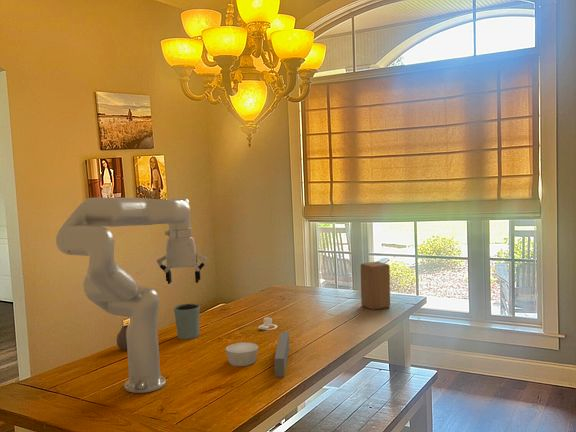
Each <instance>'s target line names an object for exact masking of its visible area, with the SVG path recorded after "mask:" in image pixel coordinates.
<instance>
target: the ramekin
mask: <svg viewBox="0 0 576 432" xmlns="http://www.w3.org/2000/svg"><path fill="white" fill-rule="evenodd" d="M258 351H259V346H258V344H256V343H254V342H244V341H243V342H237V343H232V344H229V345H228V346H226V348H225V354H226V356H227V361H228V363H229V364H230V365H231V366H234V367H246V366H247V367H248V366H251V365H253V364H255V363H256V361H257V358H258Z"/></svg>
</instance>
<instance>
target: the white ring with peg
mask: <svg viewBox="0 0 576 432" xmlns="http://www.w3.org/2000/svg"><path fill="white" fill-rule="evenodd" d="M272 326H274V327H273V328H271V327H272ZM277 328H278V325H277V324H273V319H272V318H271V317H269V316H267V317H264V318H263V324H261V325H259V326H258V329H259V330H261V331H262V330H263V331H271V330H275V329H277Z"/></svg>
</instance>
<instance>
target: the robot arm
mask: <svg viewBox="0 0 576 432" xmlns="http://www.w3.org/2000/svg"><path fill="white" fill-rule="evenodd" d="M191 210H192V209H191V205H190V200H189V198H186V197H175V198H173V197H172V198H170V199H156V198H146V197H89V198H86V199H85V200H83V201H82V202H81V203H80V204H79V205H78V206H77V207H76V208H75V210H74V211H73V212H72V213H71V214H70V215H69V217H67V219H66V220H65V221H64V222H63V224H62V225H61V227H60V228H59V230H58V231H57V233H56V238H55V245H56V247H57V249H58V251H60V252H61V253H62V254H64V255H69V256H82V257H83V256H84V257H85V256H86V257H89V260H88V267H87V271H86V272H87V273H86V276H84V280H83V284H82V286H83V292H84V295H85V296H86V298H87V299H88V300H90V301H91V302H92V303H93V304H95V305H96V306H97V307H99V308H100V309H102V310H103V311H105V312H106V313H108V314H110V315H114V316H120V317H128V318H131V320H130V322H129V324H128V325H127V326H128V327H127V331H126V339H127V364H128V378H129V379H128V380H126V382H124V390H125V391H127V392H128V393H129V392H130V393H135V394H144V393H151V392H154V391H157V390H160V389H162V388H164V386H165V385H166V383H167V382H166V379H167V378H165V377H164V376H163V375H161V365H160V351H159V350H160V348H159V333H158V332H159V331H158V316H159V308H160V297H159V294H158V292H157V291H156V290H155V289H153V288H151V287H147V286H141V285H138V284H137V282H136V279H135V278H134V277H133V276H132V275H131V274H130V273H129V272H128V271H126V270H125V269H124V268H123V267H121V266H120V265H119V264H118V263H117V262H116V261H115V258H114V257H115V256H114V255H115V238H114V236H113V235H114V234H113V233H112V231H111V230H110V229H108V227H109V228H110V227H113V228H114V227H115V228H117V227H131V226H132V227H133V226H138V227H139V226H153V225H163V224H164V225H165V224H168V230H165V231H164V235H165V236H168V238H166V248H165V249H166V250H165V254H164V256H162V257H160V258H157V260H156V262H157V264H158V266H159V268H160V269H161V270H163V272H164V273H165V281H166V282H167V284H168V285H170V284H171V283H172V281H173V280H172V279H173V278H172V271H171V269H174V268H175V269H177V268H193V269H194V270H195V271H194V277H195V278H194V280H195V283H196V284H198V283H199V282H200V280H201V269H203V267H204V266H205V265H206V263H207V261H208V257H207V256H204V255H202V254H199V253H198V252H197V247H196V242H195V238H194V236H192V223H191ZM198 259H199V260H201V263H200V264H198ZM164 261H165V262H166V263H165V264H166V265H165V264H164Z"/></svg>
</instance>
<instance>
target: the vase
mask: <svg viewBox="0 0 576 432" xmlns="http://www.w3.org/2000/svg"><path fill="white" fill-rule="evenodd" d="M127 327H128V325H122V326H121V329H120V330H119V332H118V333H117V336H116V345H117V348H118V349H119V350H121V351H127V339H126V331H127Z"/></svg>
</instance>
